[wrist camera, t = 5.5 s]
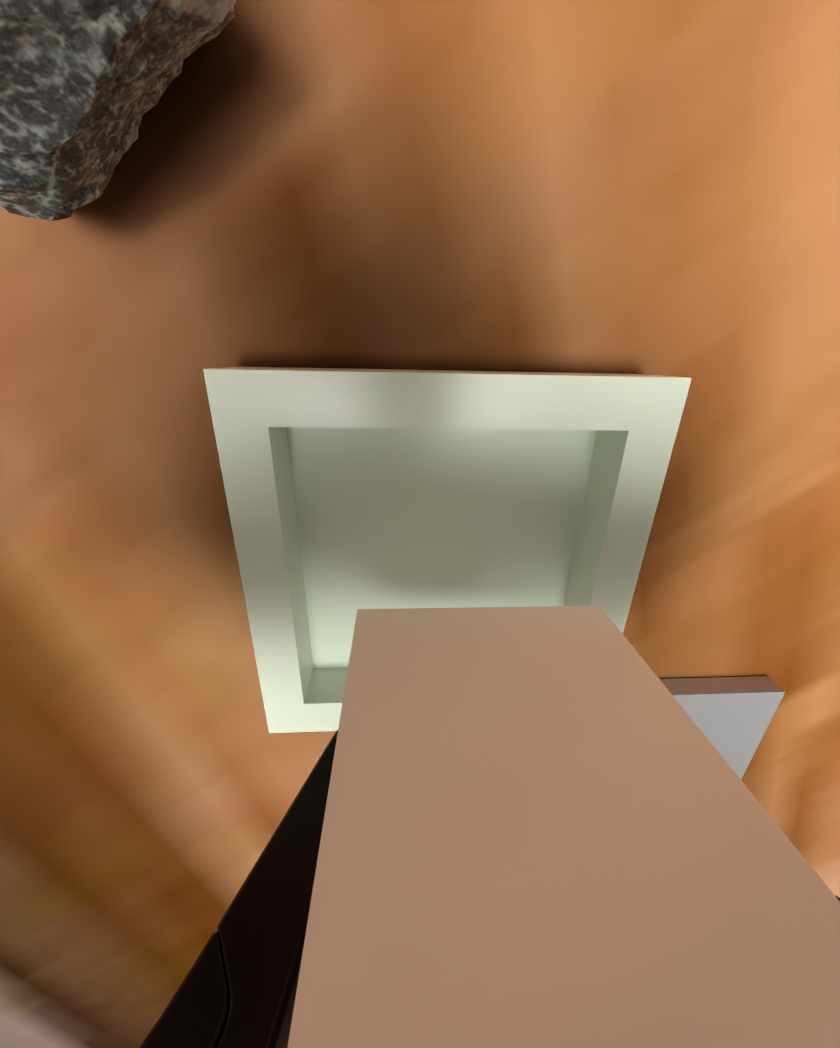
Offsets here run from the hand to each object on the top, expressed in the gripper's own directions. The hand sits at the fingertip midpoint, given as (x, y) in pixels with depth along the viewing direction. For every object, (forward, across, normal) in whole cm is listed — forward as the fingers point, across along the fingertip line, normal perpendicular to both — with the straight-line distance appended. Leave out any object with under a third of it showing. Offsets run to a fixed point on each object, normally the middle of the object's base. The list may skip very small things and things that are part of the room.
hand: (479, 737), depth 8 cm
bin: (+8, 0, 0) cm, 8 cm away
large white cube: (+1, 0, 0) cm, 1 cm away
